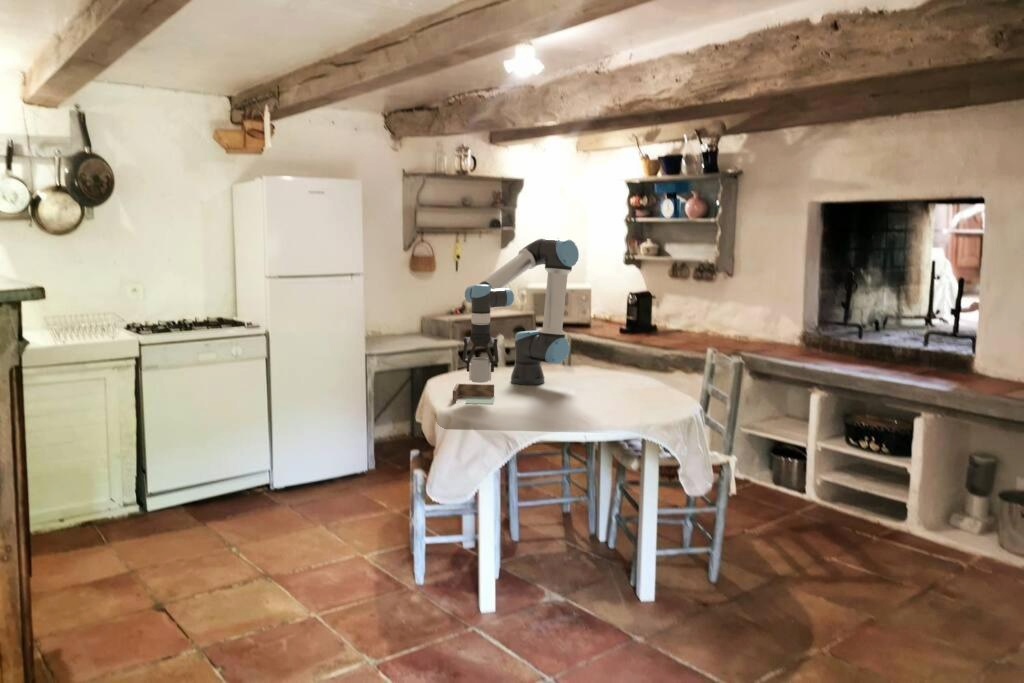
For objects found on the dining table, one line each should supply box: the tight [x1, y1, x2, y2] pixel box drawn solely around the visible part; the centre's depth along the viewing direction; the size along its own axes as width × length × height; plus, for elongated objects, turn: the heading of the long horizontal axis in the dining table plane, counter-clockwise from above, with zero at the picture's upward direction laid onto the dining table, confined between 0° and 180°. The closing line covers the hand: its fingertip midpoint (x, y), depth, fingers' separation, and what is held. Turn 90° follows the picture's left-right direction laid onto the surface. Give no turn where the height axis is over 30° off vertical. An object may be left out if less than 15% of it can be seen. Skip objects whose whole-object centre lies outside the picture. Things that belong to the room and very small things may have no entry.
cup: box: [470, 357, 490, 384], centre depth 319 cm, size 7×10×9 cm
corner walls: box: [452, 383, 495, 404], centre depth 322 cm, size 16×14×5 cm
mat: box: [465, 396, 496, 405], centre depth 321 cm, size 11×12×1 cm
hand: (480, 379), depth 320 cm, fingers closed on cup, 7 cm apart
